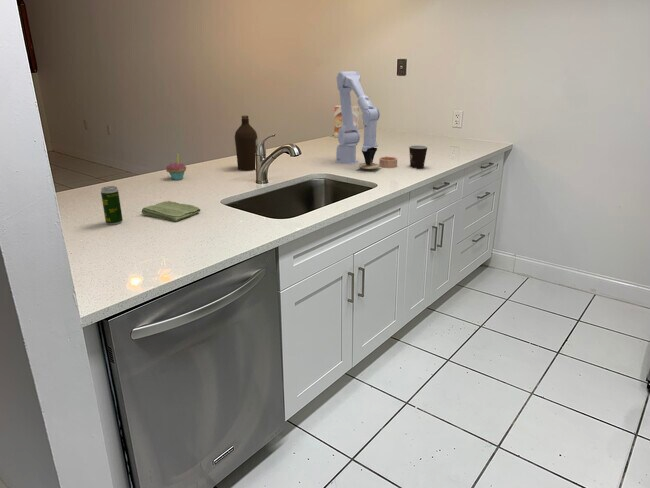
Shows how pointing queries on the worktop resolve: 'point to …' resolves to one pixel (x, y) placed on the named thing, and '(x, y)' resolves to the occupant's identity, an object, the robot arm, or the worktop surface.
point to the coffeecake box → (338, 118)
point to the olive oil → (245, 145)
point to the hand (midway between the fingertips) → (368, 163)
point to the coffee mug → (417, 156)
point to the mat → (369, 170)
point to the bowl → (388, 162)
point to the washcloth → (170, 211)
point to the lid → (371, 166)
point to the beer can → (111, 205)
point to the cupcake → (176, 169)
